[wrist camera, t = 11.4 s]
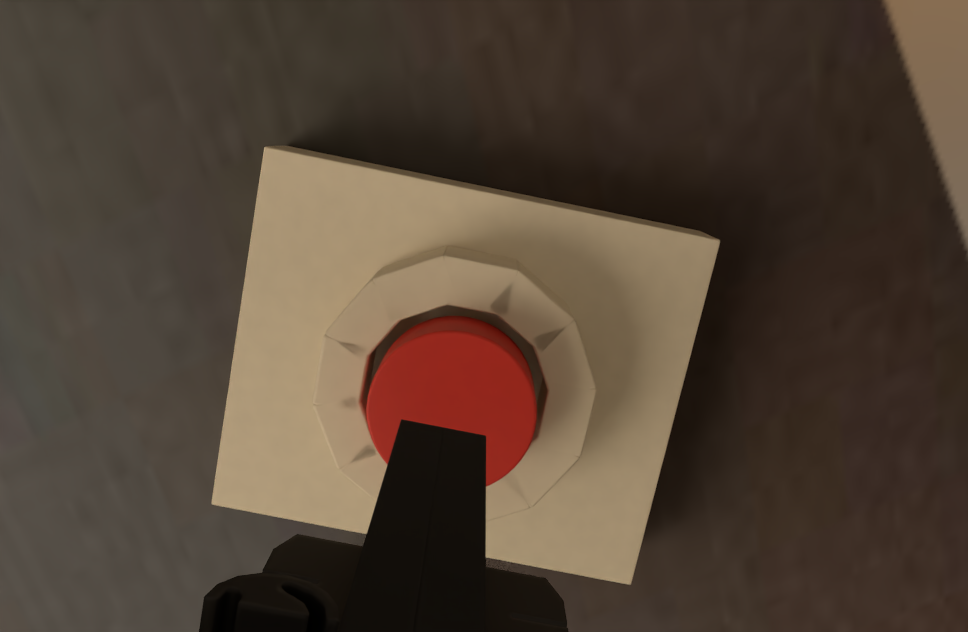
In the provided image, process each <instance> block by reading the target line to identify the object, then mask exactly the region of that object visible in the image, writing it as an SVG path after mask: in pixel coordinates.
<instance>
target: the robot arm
mask: <svg viewBox="0 0 968 632" xmlns="http://www.w3.org/2000/svg"><path fill="white" fill-rule="evenodd" d="M566 627H567V620H566V614H565V608H564V602H563V600H562V598H561V597H560V596H559V594H558V593H557V592H556V591H555V589H554V588H553V587H552V586H551V584H550V583H549V582H548V580H547V579H546V578H542V577H536V576H531V575H526V574H520V573H515V572H510V571H504V570H499V569H494V568H489V567H486V436H485V435H480V434H475V433H470V432H465V431H460V430H455V429H449V428H444V427H439V426H434V425H429V424H424V423H419V422H414V421H408V420H403V419H401V421H400V425H399V428H398V431H397V435H396V438H395V441H394V445H393V448H392V451H391V455H390V458H389V461H388V465H387V468H386V471H385V475H384V478H383V482H382V485H381V488H380V492H379V495H378V498H377V502H376V505H375V508H374V512H373V515H372V518H371V522H370V525H369V528H368V532H367V535H366V538H365V542H364V545H363V546H357V545H352V544H347V543H341V542H336V541H331V540H325V539H320V538H315V537H309V536H304V535H299V534H297V535H295V536H294V537H292V538H290V539H289V540H287V541H286V542H284V543H283V544H281V545H279V546H278V547H276V548H275V549H273V551H272V553H271V555H270V557H269V559H268V561H267V563H266V565H265V567H264V569H263V572H262V573H257V574H250V575H242V576H237V577H234V578H232V579H229V580H227V581H224V582H222V583H219V584H217V585H216V586H215V587H214V588H213V589H212V590H211V591H210V592H209V593H208V594H207V595H206V596H205V597H204V602H203V609H202V616H201V622H200V629H199V632H568V628H566Z"/></svg>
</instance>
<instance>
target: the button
mask: <svg viewBox="0 0 968 632" xmlns="http://www.w3.org/2000/svg"><path fill="white" fill-rule="evenodd" d="M366 414H367V424H368V429H369V432H370V436H371V439H372V441H373V443H374V445H375V448H376V449H377V451H378V453H379V454H380V456H381V457H382V459H383V460H384V461H385V462H386V464H387V465H388V461H389V458H390V455H391V451H392V448H393V445H394V441H395V438H396V435H397V431H398V428H399V425H400V421H401V419H403V420H408V421H414V422H419V423H424V424H429V425H434V426H439V427H444V428H449V429H455V430H460V431H465V432H470V433H475V434H480V435H485V436H486V487H487V486H489V485H491V484H493V483H495V482H497V481H499V480H500V479H501V478H503V477H504V476H506V475H507V474H508V473H509V472H510V471H511V470H513V469H514V468H515V467H516V465H517V464H518V463H519V462H520V461H521V459H522V458H523V457H524V455H525V453H526V452H527V450H528V448H529V446H530V444H531V442H532V439H533V436H534V432H535V428H536V422H537V403H536V396H535V390H534V383H533V378H532V374H531V370H530V368H529V365H528V363H527V360H526V358H525V357H524V355H523V353H522V351H521V350H520V349H519V347H518V346H517V345H516V344H515V342H514V341H513V340H512V339H511V338H510V337H509V336H507V335H506V334H505V333H504V332H502V331H501V330H500V329H498V328H496V327H494V326H493V325H491V324H489V323H486V322H484V321H482V320H478V319H475V318H471V317H464V316H443V317H437V318H433V319H429V320H426V321H424V322H421V323H419V324H417V325H415V326H414V327H412V328H410V329H409V330H407V331H406V332H405V333H403V334H402V335H401V336H400V337H399V338H398V339H397V340H396V341H395V342H394V343H393V344H392V345H391V347H390V348H389V349H388V351H387V352H386V354H385V356H384V358H383V359H382V362H381V364H380V366H379V368H378V370H377V372H376V374H375V376H374V378H373V381H372V383H371V385H370V389H369V393H368V397H367V406H366Z"/></svg>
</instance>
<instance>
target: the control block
mask: <svg viewBox="0 0 968 632" xmlns="http://www.w3.org/2000/svg"><path fill="white" fill-rule="evenodd" d="M719 245H720V240H719V239H716V238H714V237H712V236H710V235H708V234H706V233H703V232H701V231H698V230H693V229H688V228H684V227H679V226H674V225H669V224H664V223H659V222H654V221H650V220H645V219H640V218H635V217H630V216H625V215H621V214H616V213H611V212H606V211H601V210H596V209H591V208H587V207H582V206H577V205H572V204H567V203H562V202H557V201H553V200H548V199H543V198H538V197H533V196H528V195H523V194H519V193H514V192H509V191H504V190H499V189H494V188H490V187H485V186H480V185H475V184H470V183H465V182H460V181H456V180H451V179H446V178H441V177H436V176H431V175H426V174H422V173H417V172H412V171H407V170H402V169H397V168H392V167H388V166H383V165H378V164H373V163H368V162H363V161H358V160H354V159H349V158H344V157H339V156H334V155H329V154H325V153H320V152H315V151H310V150H305V149H300V148H295V147H291V146H266V147H265V148H264V153H263V160H262V166H261V173H260V180H259V187H258V193H257V200H256V207H255V213H254V220H253V227H252V234H251V240H250V247H249V254H248V261H247V267H246V274H245V281H244V288H243V294H242V301H241V308H240V314H239V321H238V328H237V335H236V341H235V348H234V355H233V362H232V368H231V375H230V382H229V389H228V395H227V402H226V409H225V415H224V422H223V429H222V436H221V442H220V449H219V456H218V463H217V469H216V476H215V483H214V489H213V496H212V504H213V505H218V506H223V507H228V508H233V509H238V510H244V511H249V512H254V513H259V514H264V515H270V516H275V517H280V518H285V519H290V520H295V521H301V522H306V523H311V524H316V525H321V526H327V527H332V528H337V529H342V530H347V531H353V532H358V533H363V534H367V532H368V528H369V525H370V522H371V518H372V515H373V512H374V508H375V505H376V502H377V498H378V495H379V492H380V488H381V485H382V482H383V478H384V475H385V471H386V468H387V464H386V462H385V461H384V460H383V459H382V457H381V456H380V454H379V453H378V451H377V449H376V448H375V445H374V443H373V441H372V439H371V436H370V432H369V429H368V424H367V414H366V406H367V397H368V393H369V389H370V385H371V383H372V381H373V378H374V376H375V374H376V372H377V370H378V368H379V366H380V364H381V362H382V359H383V358H384V356H385V354H386V352H387V351H388V349H389V348H390V347H391V345H392V344H393V343H394V342H395V341H396V340H397V339H398V338H399V337H400V336H401V335H402V334H403V333H405V332H406V331H407V330H409V329H410V328H412V327H414V326H415V325H417V324H419V323H421V322H424V321H426V320H429V319H433V318H437V317H443V316H464V317H471V318H475V319H478V320H482V321H484V322H486V323H489V324H491V325H493V326H494V327H496V328H498V329H500V330H501V331H502V332H504V333H505V334H506V335H507V336H509V337H510V338H511V339H512V340H513V341H514V342H515V344H516V345H517V346H518V347H519V349H520V350H521V351H522V353H523V355H524V357H525V358H526V360H527V363H528V365H529V368H530V370H531V374H532V378H533V383H534V390H535V396H536V403H537V422H536V428H535V432H534V436H533V439H532V442H531V444H530V446H529V448H528V450H527V452H526V453H525V455H524V457H523V458H522V459H521V461H520V462H519V463H518V464H517V465H516V467H515V468H514V469H513V470H511V471H510V472H509V473H508V474H507V475H506V476H504V477H503V478H501V479H500V480H499V481H497V482H495V483H493V484H491V485H489V486H487V487H486V557H488V558H493V559H498V560H503V561H509V562H514V563H519V564H524V565H529V566H535V567H540V568H545V569H550V570H555V571H561V572H566V573H571V574H576V575H581V576H587V577H592V578H597V579H602V580H607V581H612V582H618V583H623V584H628V585H630V584H631V582H632V578H633V575H634V571H635V567H636V563H637V559H638V555H639V552H640V548H641V544H642V540H643V536H644V532H645V529H646V525H647V521H648V517H649V513H650V509H651V506H652V502H653V498H654V494H655V490H656V486H657V483H658V479H659V475H660V471H661V467H662V463H663V460H664V456H665V452H666V448H667V444H668V440H669V437H670V433H671V429H672V425H673V421H674V417H675V414H676V410H677V406H678V402H679V398H680V394H681V391H682V387H683V383H684V379H685V375H686V371H687V368H688V364H689V360H690V356H691V352H692V348H693V344H694V341H695V337H696V333H697V329H698V325H699V321H700V318H701V314H702V310H703V306H704V302H705V298H706V295H707V291H708V287H709V283H710V279H711V275H712V272H713V268H714V264H715V260H716V256H717V252H718V249H719Z"/></svg>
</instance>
